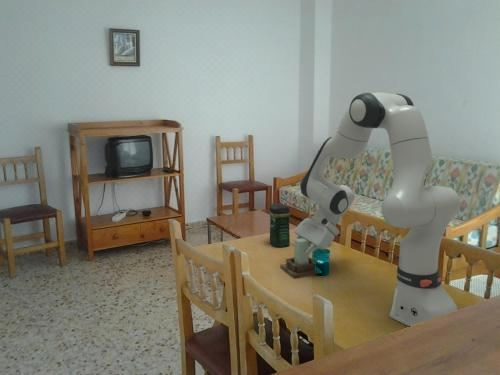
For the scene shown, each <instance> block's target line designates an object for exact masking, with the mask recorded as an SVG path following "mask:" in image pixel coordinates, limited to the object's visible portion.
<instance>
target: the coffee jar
mask: <svg viewBox="0 0 500 375" xmlns="http://www.w3.org/2000/svg"><path fill="white" fill-rule="evenodd" d="M290 212H291V210H290V206H288V205H285V204H283V203H281V202H275V203H271V205H269V243H270V244H271V245H272V246H273V247H277V248H279V247H280V248H285V247H288V246H290V243H291V242H290V241H291V239H290V215H291V213H290Z"/></svg>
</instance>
